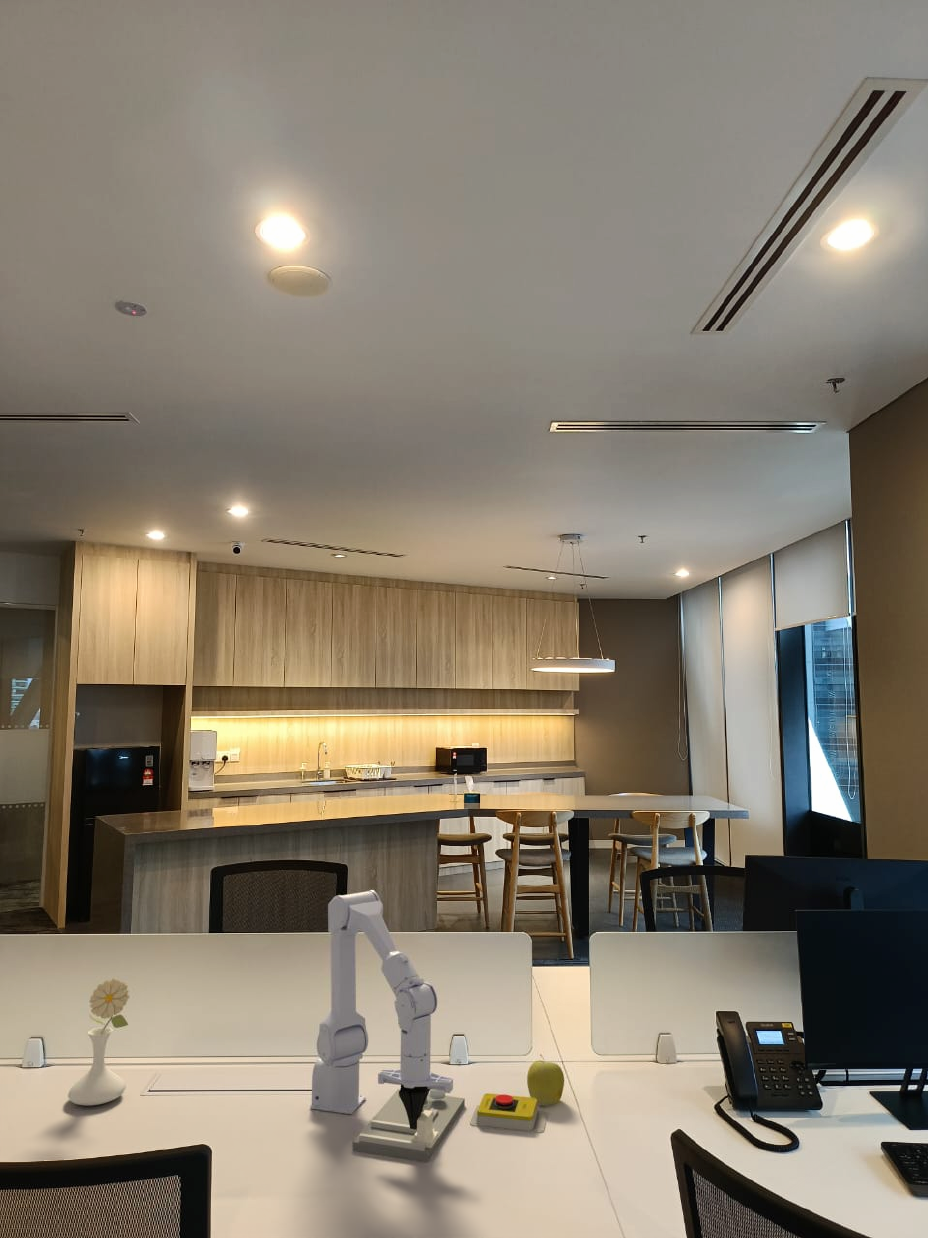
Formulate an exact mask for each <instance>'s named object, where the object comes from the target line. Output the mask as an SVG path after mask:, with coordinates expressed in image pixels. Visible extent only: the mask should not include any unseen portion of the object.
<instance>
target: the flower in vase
mask: <svg viewBox="0 0 928 1238" xmlns="http://www.w3.org/2000/svg"><path fill="white" fill-rule="evenodd" d="M128 988H129V987H128V984H126V982H123V981H121V980H119V979H116V978H112V979H110V980H105V981H104V982H102V983H99V984H98V985H97V987H96V989H93V992H92V995H90V999H89V1003H90V1006H89V1007H90V1008H91V1010H90V1012H91V1013H88V1014H89V1016H90V1018H91V1020H92V1021H94V1022H97V1023H99V1024H101V1025H103V1026H102V1027H95V1028H92V1029H91V1030H89V1031H87V1035H88V1036H89V1038H90V1040H91V1043H92V1050H93V1051H92V1053H93V1056H92V1057H93V1059H92V1065H91V1067H90V1069H89V1071H88V1072H86V1073H85V1074H84V1075H83V1076H82V1077H80V1079H79V1080H77V1081H76V1082H75V1083H74V1084H73V1085H72V1086H71V1087H70V1089H69V1091H68V1094H67V1097H68V1099H69V1101H70V1102H71V1103H73V1104H75V1105H78V1106H79V1105H80V1106H97V1105H98V1106H99V1105H102V1104H106V1103H109V1102H111V1101H114V1100H115V1099H117V1098H119V1097H120V1096H122V1095H123V1093H124V1092H125V1090H126V1088H127V1086H126V1083H125V1080H124V1079H123V1078H121V1076H119V1075H117V1074H116V1073H114V1072H113V1071H112V1070H110V1069H109V1068H108V1067H107V1066H106V1061H105V1054H106V1048H107V1047H106V1046H107V1042H108V1040H109V1037H110V1035H111V1034H112V1033H113V1031H114V1030H113V1028H117V1029H119V1028H123V1027H127V1026H129V1024H128V1022H127V1019H126V1018H125V1017H124V1016H123V1014H120V1013H121V1012H122V1011H123V1010H124V1007H125V1006H126V1005H127V1002H128V1000H129V999H130V994H129V989H128ZM91 1014H93V1016H92V1015H91ZM94 1015H95V1016H96V1017H100V1018H101V1019H104V1020H106V1019H107V1018H109V1020H108V1021H107V1022H106V1024H105V1023H104V1022H103V1021H102V1020H101V1019H99V1018H96V1017H94ZM110 1022H111V1024H112V1026H113V1028H111V1027H108V1025H109V1023H110Z"/></svg>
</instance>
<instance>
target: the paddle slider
mask: <svg viewBox="0 0 928 1238" xmlns="http://www.w3.org/2000/svg"><path fill="white" fill-rule="evenodd" d="M438 1137H439V1132H436V1131H433V1111H429V1110H424V1112H423V1113H422V1114H421V1116H420V1117H419V1118H418V1120H417V1132H416V1133H415V1135H414V1136H413V1137H412V1139H411V1141H414V1142H421V1143H425V1148H432V1146H433V1145H434V1143H435V1142H436V1140H437V1139H438Z"/></svg>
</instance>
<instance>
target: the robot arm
mask: <svg viewBox="0 0 928 1238" xmlns="http://www.w3.org/2000/svg"><path fill="white" fill-rule="evenodd" d="M327 912H328V913H327V916H328V917H327V920H328V923H327V924H328V925H327V927H328V929H327V931H328V933H330V1011H329V1013H328V1014H327V1015H326V1016H325V1018H324V1019H323V1020H321V1022H320V1023H319V1025H318V1026H319V1031H318V1036H317V1038H316V1051H317V1054H318V1058H317V1059H316V1061H315V1062H314V1065H313V1069H312V1075H311V1076H312V1077H311V1103H310V1105H309V1109H312V1110H313V1109H314V1110H320V1111H326V1112H334V1113H339V1114H345V1115H346V1114H348V1115H352V1114H353V1113H354V1112H355V1111H356V1110H357V1109H358V1108H359V1106H360V1105H361V1104H362V1103H363V1102H364V1101H365V1100H366V1097H367V1096H366V1095H362V1094H361V1095H360V1091H359V1090H360V1060H362V1059H363V1054H364V1053H366V1050H367V1049H368V1046H369V1034H368V1030H367V1026H366V1018H365V1017H364V1016H363V1015H362V1014H361V1013H360V1012H358V1011H357V1003H356V1002H357V1000H356V999H357V996H356V995H357V993H356V992H357V990H356V986H357V985H356V979H357V978H356V974H357V973H356V935H357V934H359V933H358V932H360V933H361V932H362V933H364V934H365V935H364V936H366V938H367V939H368V941H369V942H370V944H371V945H372V946H373V948H374V949H375V952H377V954H378V955H379V957H380V959H381V960H382V963H381V967H380V970H381V973H382V974H383V976H384V977H385V980H386V982H387V984H388V985H389V987H390V989H391V990H392V993H393V994H394V996H395V999H396V1000H394V1009H395V1012H396V1014H397V1020H398V1024H397V1025H398V1027H399V1029H400V1064H399V1065H400V1067H399V1068H400V1069H385V1068H384V1069H380V1071H379V1072H378V1074H377V1075H378V1076H377V1083H378V1085H384V1084H391V1085H398V1086H400V1088H399V1090H400V1091H399V1097H400V1098H401V1100H402V1102H403V1104H404V1107H405V1109H406V1112H407V1116H408V1120H409V1125H410V1129H415V1130H416V1129H417V1120H418V1118H419V1117H420V1116H421V1113H422V1110H423V1106H424V1103H425V1101H426V1098H427V1096H428V1094H430V1089H434V1090H442V1091H445V1094H450V1093H451V1092H452V1091H453V1089H454V1079H453V1078H452V1077H447V1076H444V1075H440V1074H437V1073H433V1072H431V1046H432V1045H431V1043H432V1041H431V1039H432V1038H431V1037H432V1036H431V1033H432V1032H431V1028H432V1026H431V1025H432V1019H431V1018H432V1014H434V1013H435V1012H436V1010H437V1007H438V997H437V993H436V991H435V988H434V986H433V985H432V984H431V983H429V982H427V981H426V980H425V979H424V978H421V977H420V975H419V974H418V973H417V971H416V969H415V967H414V965H413V964H412V962H411V960H410V959H409V957H408V955H407V953H406V952H403V951H399V950H398V948H397V947H396V944H395V941H394V940H393V938H392V936H391V933H390V931H389V929H388V926H387V925H386V923H385V922H386V921H385V920H384V918H383V913H384V904H383V903H382V901H381V898H380V897H379V894H378V893H377V891H375V890H374V889H373V890H372V889H370V890H367V891H362V892H354V893H349V894H348V893H347V894H343V895H341V894H338V895H336V896H333V898H332V899H331V900H330V902H329V903H328V905H327Z"/></svg>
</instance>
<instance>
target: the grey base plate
mask: <svg viewBox="0 0 928 1238" xmlns="http://www.w3.org/2000/svg"><path fill="white" fill-rule="evenodd" d="M399 1091H400V1088H399V1089H397V1090H396V1091H394V1093H393V1094H392V1096H390V1098H389V1099H388V1100H387V1101H386V1102H385V1104H384V1105H382V1107H381V1108H380V1109H379V1111H378V1112H377V1113H376V1114H375V1115H374V1116H373V1117H372V1119H371V1120H369V1122H368V1123H367V1124H366V1125H365V1127H364V1128H363V1129H362V1131H361V1132H360V1133H359V1134H357V1136H356V1137H355V1138H354V1139H353V1140H352V1148H351V1149H352V1151H354V1152H360V1153H367V1154H374V1155H379V1156H384V1157H385V1156H387V1157H391V1158H392V1157H393V1158H398V1159H405V1160H411V1161H419V1162H423V1163H429V1161H430V1160H431V1158H432V1157H433V1156H434V1154H435V1153H436V1150H438V1148H439V1146H440V1145H441V1143H442V1142H443V1140H444V1138H445V1137H446V1135H447V1133H449V1130H450V1129H451V1128H452V1126H453V1124H454V1123H455V1121H456V1120H457V1118H458V1116H460V1114H461V1112H462V1111H463V1109H464V1108H465V1106H466V1105H465V1104H466V1103H465V1100H466V1099H465V1098H464V1097H459V1096H458V1097H456V1096H451V1095H450V1096H449V1095H445V1097H444V1098H443V1099H432V1098H431V1097H430V1093H429V1094H428V1096H427V1101H428V1100H429V1101H431V1102H432V1105H433V1106H432V1108H431V1109H430V1111H433V1131H436V1132H439V1137H438V1139H437V1140H436V1142H435V1143H434V1145H433V1146H432V1148H425V1143H421V1142H414V1141H411V1139H412V1137H413V1136H414V1135H415V1133H416V1132H417V1129H416V1130H415V1129H410V1125H409V1120H408V1116H407V1112H406V1109H405V1107H404V1104H403V1102H402V1100H401V1098H400V1097H399ZM421 1114H422V1113H421Z"/></svg>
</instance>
